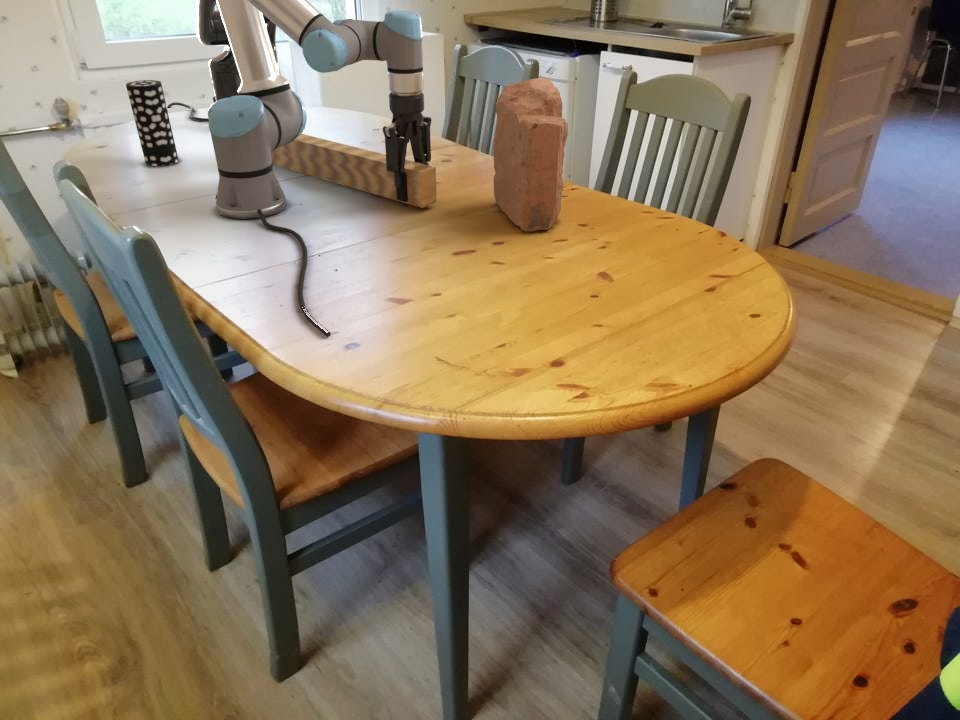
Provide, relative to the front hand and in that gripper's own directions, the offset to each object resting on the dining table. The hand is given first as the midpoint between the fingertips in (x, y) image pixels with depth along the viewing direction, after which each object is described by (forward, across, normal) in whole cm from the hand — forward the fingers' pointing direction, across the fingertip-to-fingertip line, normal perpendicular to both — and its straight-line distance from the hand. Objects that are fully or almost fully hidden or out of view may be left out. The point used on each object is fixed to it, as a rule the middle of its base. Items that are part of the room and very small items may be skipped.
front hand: (410, 196), depth 160 cm
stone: (+2, -12, +25) cm, 28 cm away
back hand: (-3, 0, -48) cm, 48 cm away
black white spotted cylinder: (-8, +18, -74) cm, 77 cm away
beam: (+1, 0, -24) cm, 24 cm away
